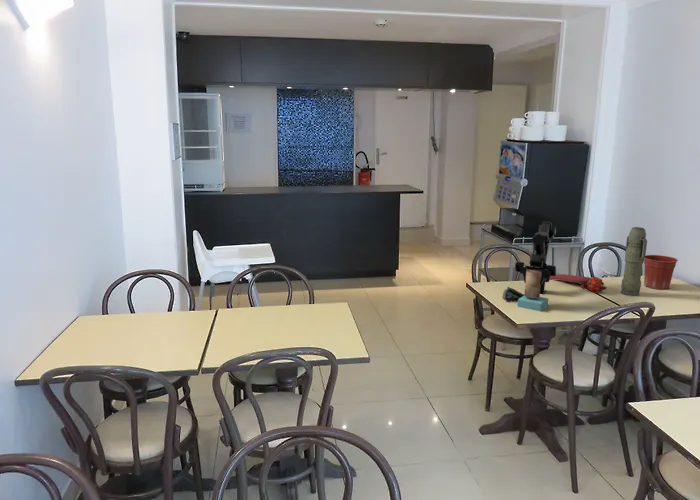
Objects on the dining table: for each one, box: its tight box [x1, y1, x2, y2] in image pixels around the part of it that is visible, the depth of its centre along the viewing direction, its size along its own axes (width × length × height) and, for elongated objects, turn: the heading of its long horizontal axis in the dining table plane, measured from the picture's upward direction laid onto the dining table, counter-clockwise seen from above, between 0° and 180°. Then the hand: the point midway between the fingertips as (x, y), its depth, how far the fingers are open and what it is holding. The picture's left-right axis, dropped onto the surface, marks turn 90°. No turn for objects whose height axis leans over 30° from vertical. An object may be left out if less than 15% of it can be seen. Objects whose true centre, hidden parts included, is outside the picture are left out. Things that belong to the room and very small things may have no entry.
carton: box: [549, 273, 591, 290], centre depth 306 cm, size 12×5×25 cm
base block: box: [516, 296, 549, 312], centre depth 263 cm, size 11×11×4 cm
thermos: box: [620, 226, 648, 297], centre depth 282 cm, size 9×12×35 cm
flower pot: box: [643, 254, 679, 290], centre depth 297 cm, size 16×16×16 cm
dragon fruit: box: [586, 276, 608, 294], centre depth 287 cm, size 8×8×12 cm
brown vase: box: [524, 269, 542, 298], centre depth 262 cm, size 7×7×12 cm
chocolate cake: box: [501, 286, 525, 303], centre depth 274 cm, size 10×7×12 cm
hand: (532, 283), depth 261 cm, fingers closed on brown vase, 7 cm apart
